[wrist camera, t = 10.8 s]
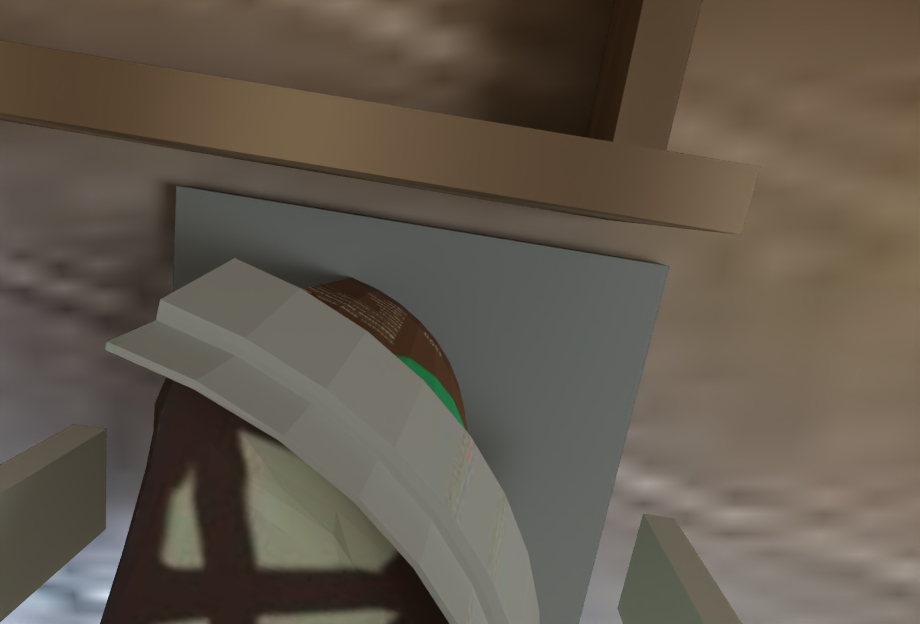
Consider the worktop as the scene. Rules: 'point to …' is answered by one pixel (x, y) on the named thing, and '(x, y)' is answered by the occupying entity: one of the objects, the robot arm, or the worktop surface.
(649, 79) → the rack
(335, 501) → the food container
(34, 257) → the worktop surface
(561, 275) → the mat
